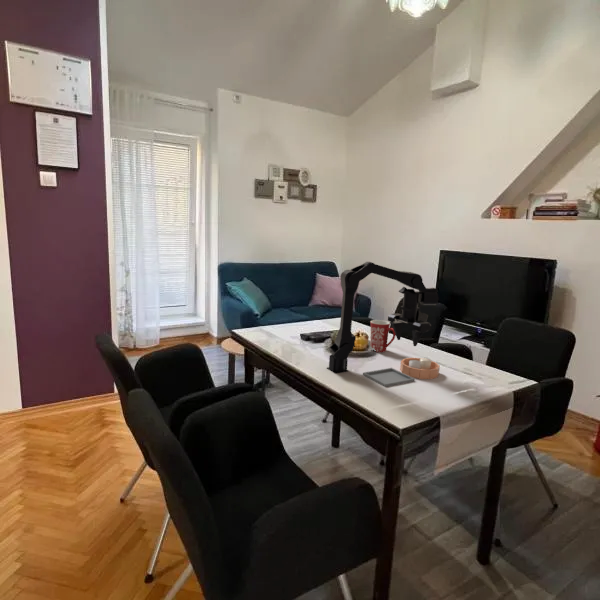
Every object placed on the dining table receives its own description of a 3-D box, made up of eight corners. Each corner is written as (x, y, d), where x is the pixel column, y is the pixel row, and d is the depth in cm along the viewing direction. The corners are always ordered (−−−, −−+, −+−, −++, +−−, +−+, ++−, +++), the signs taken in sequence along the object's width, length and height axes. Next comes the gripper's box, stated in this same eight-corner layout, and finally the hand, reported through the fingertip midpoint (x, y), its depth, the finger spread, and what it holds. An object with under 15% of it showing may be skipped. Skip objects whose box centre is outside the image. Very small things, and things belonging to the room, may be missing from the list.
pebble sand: (424, 373, 164) (425, 362, 163) (416, 369, 168) (417, 359, 167) (432, 371, 166) (433, 361, 165) (424, 368, 170) (425, 357, 169)
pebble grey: (413, 375, 161) (415, 364, 161) (405, 371, 165) (406, 360, 164) (422, 373, 163) (423, 362, 163) (414, 369, 167) (415, 359, 166)
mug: (364, 349, 194) (366, 321, 192) (375, 346, 201) (377, 318, 198) (387, 356, 185) (389, 327, 183) (398, 352, 192) (400, 324, 189)
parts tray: (384, 388, 149) (385, 384, 149) (362, 376, 160) (362, 372, 160) (414, 382, 156) (414, 378, 156) (391, 371, 167) (391, 367, 167)
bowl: (419, 382, 156) (420, 372, 155) (393, 369, 168) (393, 360, 168) (446, 376, 163) (447, 367, 162) (419, 365, 175) (420, 356, 175)
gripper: (443, 308, 160) (439, 347, 163) (409, 299, 176) (405, 335, 179) (421, 309, 154) (417, 350, 157) (388, 300, 170) (385, 337, 173)
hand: (406, 342), depth 167 cm, fingers open, 9 cm apart
